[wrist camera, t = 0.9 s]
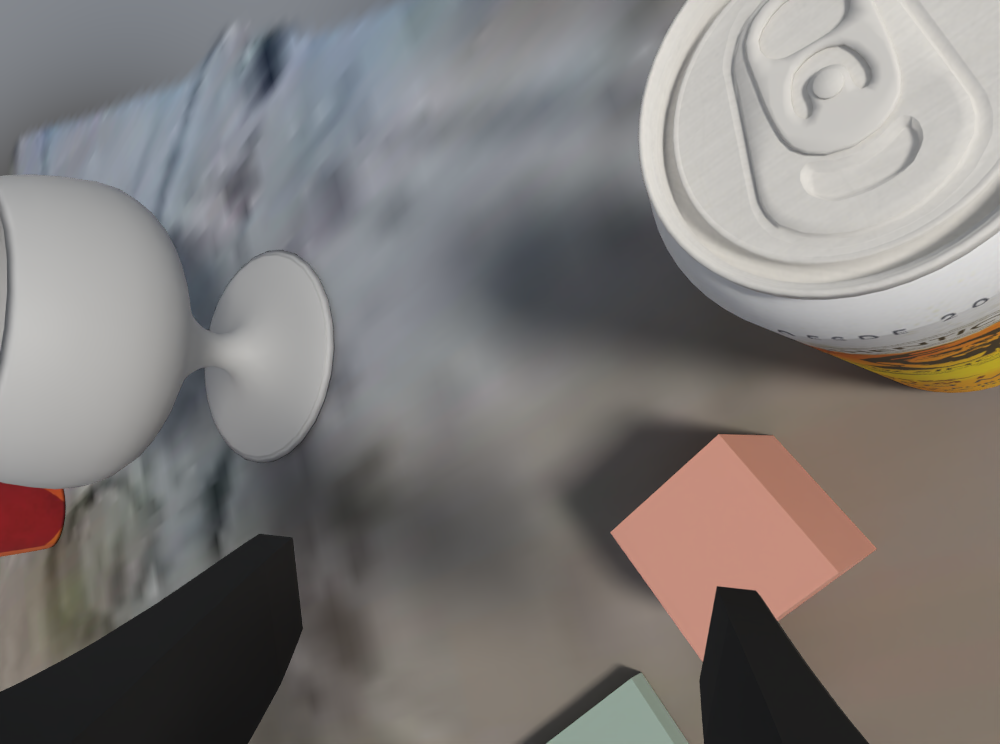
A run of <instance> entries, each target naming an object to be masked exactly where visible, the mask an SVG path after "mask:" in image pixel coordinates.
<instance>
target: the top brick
mask: <svg viewBox="0 0 1000 744" xmlns="http://www.w3.org/2000/svg"><path fill="white" fill-rule="evenodd" d="M610 533H611V534H612V535H613V537H614V538H615V540H616V541H617V543H618V544H619V545H620V547H621V548H622V550H623V551H624V552H625V554H626V555H627V557H628V558H629V559H630V561H631V562H632V564H633V565H634V566H635V568H636V569H637V571H638V572H639V573H640V575H641V576H642V578H643V579H644V580H645V582H646V583H647V585H648V586H649V587H650V589H651V590H652V592H653V593H654V594H655V596H656V597H657V599H658V600H659V601H660V603H661V604H662V606H663V607H664V608H665V610H666V611H667V613H668V614H669V615H670V617H671V618H672V620H673V621H674V622H675V624H676V625H677V627H678V628H679V629H680V631H681V632H682V634H683V635H684V636H685V638H686V639H687V641H688V642H689V643H690V645H691V646H692V648H693V649H694V650H695V652H696V653H697V655H698V656H699V657H700V659H701V660H702V662H703V659H704V654H705V648H706V643H707V637H708V632H709V626H710V621H711V615H712V610H713V605H714V599H715V594H716V588H717V586H721V587H730V588H738V589H747V590H756V591H757V592H758V594H759V595H760V596H761V597H762V599H763V600H764V602H765V603H766V605H767V606H768V608H769V609H770V611H771V612H772V614H773V615H774V617H775V618H776V620H777V621H779V620H780V619H782V618H783V617H784V616H786V615H787V614H788V613H790V612H791V611H793V610H794V609H795V608H797V607H798V606H799V605H801V604H802V603H804V602H805V601H806V600H808V599H809V598H810V597H812V596H813V595H814V594H816V593H817V592H819V591H820V590H821V589H823V588H824V587H825V586H827V585H828V584H830V583H831V582H832V581H834V580H835V579H836V578H838V577H839V576H841V575H842V574H843V573H845V572H846V571H847V570H849V569H850V568H852V567H853V566H854V565H856V564H857V563H858V562H860V561H861V560H862V559H864V558H865V557H867V556H868V555H869V554H871V553H872V552H873V551H875V550H876V549H877V548H876V547H875V546H874V545H873V544H872V543H871V542H870V541H869V540H868V539H867V538H866V536H865V535H864V534H863V533H862V532H861V531H860V530H859V529H858V528H857V527H856V525H855V524H854V523H853V522H852V521H851V520H850V519H849V518H848V517H847V516H846V515H845V513H844V512H843V511H842V510H841V509H840V508H839V507H838V506H837V505H836V504H835V503H834V501H833V500H832V499H831V498H830V497H829V496H828V495H827V494H826V493H825V492H824V490H823V489H822V488H821V487H820V486H819V485H818V484H817V483H816V482H815V481H814V480H813V478H812V477H811V476H810V475H809V474H808V473H807V472H806V471H805V470H804V469H803V468H802V466H801V465H800V464H799V463H798V462H797V461H796V460H795V459H794V458H793V457H792V455H791V454H790V453H789V452H788V451H787V450H786V449H785V448H784V447H783V446H782V445H781V443H780V442H779V441H778V440H777V439H776V438H775V437H774V436H772V435H729V434H718V435H717V436H716V437H715V438H714V439H713V440H712V441H711V442H710V443H708V444H707V445H706V446H705V447H704V448H703V449H702V450H701V451H700V452H699V453H697V454H696V455H695V456H694V457H693V458H692V459H691V460H690V461H689V462H687V463H686V464H685V465H684V466H683V467H682V468H681V469H680V470H679V471H678V472H676V473H675V474H674V475H673V476H672V477H671V478H670V479H669V480H668V481H666V482H665V483H664V484H663V485H662V486H661V487H660V488H659V489H658V490H657V491H655V492H654V493H653V494H652V495H651V496H650V497H649V498H648V499H647V500H645V501H644V502H643V503H642V504H641V505H640V506H639V507H638V508H637V509H636V510H634V511H633V512H632V513H631V514H630V515H629V516H628V517H627V518H626V519H625V520H623V521H622V522H621V523H620V524H619V525H618V526H617V527H616V528H615V529H613V530H612V531H611V532H610Z"/></svg>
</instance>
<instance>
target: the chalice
mask: <svg viewBox="0 0 1000 744" xmlns="http://www.w3.org/2000/svg"><path fill="white" fill-rule="evenodd" d="M333 351H334V341H333V322H332V317H331V312H330V307H329V302H328V298H327V296H326V293H325V291H324V289H323V286H322V284H321V281H320V279H319V278H318V276H317V275H316V273H315V272H314V271H313V269H312V268H311V266H310V265H309V264H308V263H307V262H306V261H304V260H303V259H302V258H300V257H299V256H298V255H297V254H294V253H291V252H287V251H284V250H274V251H267V252H265V253H262V254H260V255H258V256H255V257H254V258H252V259H251V260H250V261H249V262H248V263H246V264H245V265H244V266H243V267H242V268H241V269H240V270H239V271H238V272H237V273H236V274H235V276H234V277H233V278H232V279H231V281H230V282H229V283H228V285H227V287H226V288H225V290H224V292H223V294H222V296H221V298H220V299H219V301H218V304H217V307H216V309H215V312H214V315H213V318H212V320H211V325H210V329H209V330H206V329H204V328H203V327H202V326H201V325H200V324H199V323H198V322H196V320H195V319H194V317H193V315H192V313H191V306H190V298H189V291H188V285H187V281H186V278H185V274H184V270H183V267H182V263H181V261H180V258H179V256H178V253H177V251H176V248H175V246H174V244H173V242H172V240H171V239H170V237H169V235H168V233H167V231H166V230H165V228H164V227H163V226H162V225H161V223H160V222H159V221H158V220H157V218H156V217H155V216H154V215H153V214H152V212H150V211H149V210H148V209H147V208H146V207H144V206H143V205H142V204H141V203H140V202H138V201H137V200H135V199H134V198H132V197H131V196H129V195H128V194H126V193H125V192H123V191H122V190H120V189H118V188H115V187H112V186H108V185H105V184H102V183H99V182H95V181H88V180H81V179H75V178H67V177H60V176H47V175H5V176H0V482H2V483H7V484H13V485H20V486H26V487H34V488H47V489H64V488H75V487H81V486H85V485H89V484H92V483H95V482H98V481H101V480H103V479H106V478H109V477H111V476H113V475H114V474H116V473H117V472H118V471H120V470H121V469H123V468H124V467H125V466H127V465H128V464H130V463H131V462H132V461H134V460H135V459H136V458H138V457H139V456H140V455H141V454H142V453H143V451H144V450H145V449H146V448H147V447H148V446H149V445H150V444H151V442H152V441H153V440H154V438H155V437H156V435H157V434H158V433H159V431H160V429H161V428H162V426H163V424H164V423H165V421H166V420H167V418H168V416H169V415H170V413H171V410H172V408H173V406H174V403H175V401H176V398H177V396H178V393H179V391H180V389H181V386H182V383H183V381H184V379H185V378H186V377H187V376H188V375H189V374H191V373H193V372H195V371H196V370H198V369H200V368H205V386H206V393H207V399H208V404H209V407H210V411H211V414H212V417H213V420H214V422H215V424H216V426H217V428H218V430H219V432H220V434H221V436H222V437H223V439H224V440H225V442H226V443H227V444H228V445H229V446H230V448H231V449H232V450H233V451H234V452H235V453H237V454H238V455H240V456H241V457H243V458H244V459H246V460H250V461H254V462H258V463H263V462H271V461H275V460H277V459H279V458H281V457H283V456H285V455H287V454H288V453H290V452H291V451H292V450H293V449H294V448H295V447H296V446H297V445H298V444H299V443H300V442H301V441H302V440H303V439H304V438H305V436H306V435H307V433H308V432H309V430H310V429H311V427H312V425H313V424H314V422H315V421H316V418H317V416H318V414H319V411H320V409H321V407H322V404H323V402H324V400H325V396H326V392H327V388H328V384H329V380H330V377H331V370H332V361H333Z"/></svg>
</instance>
